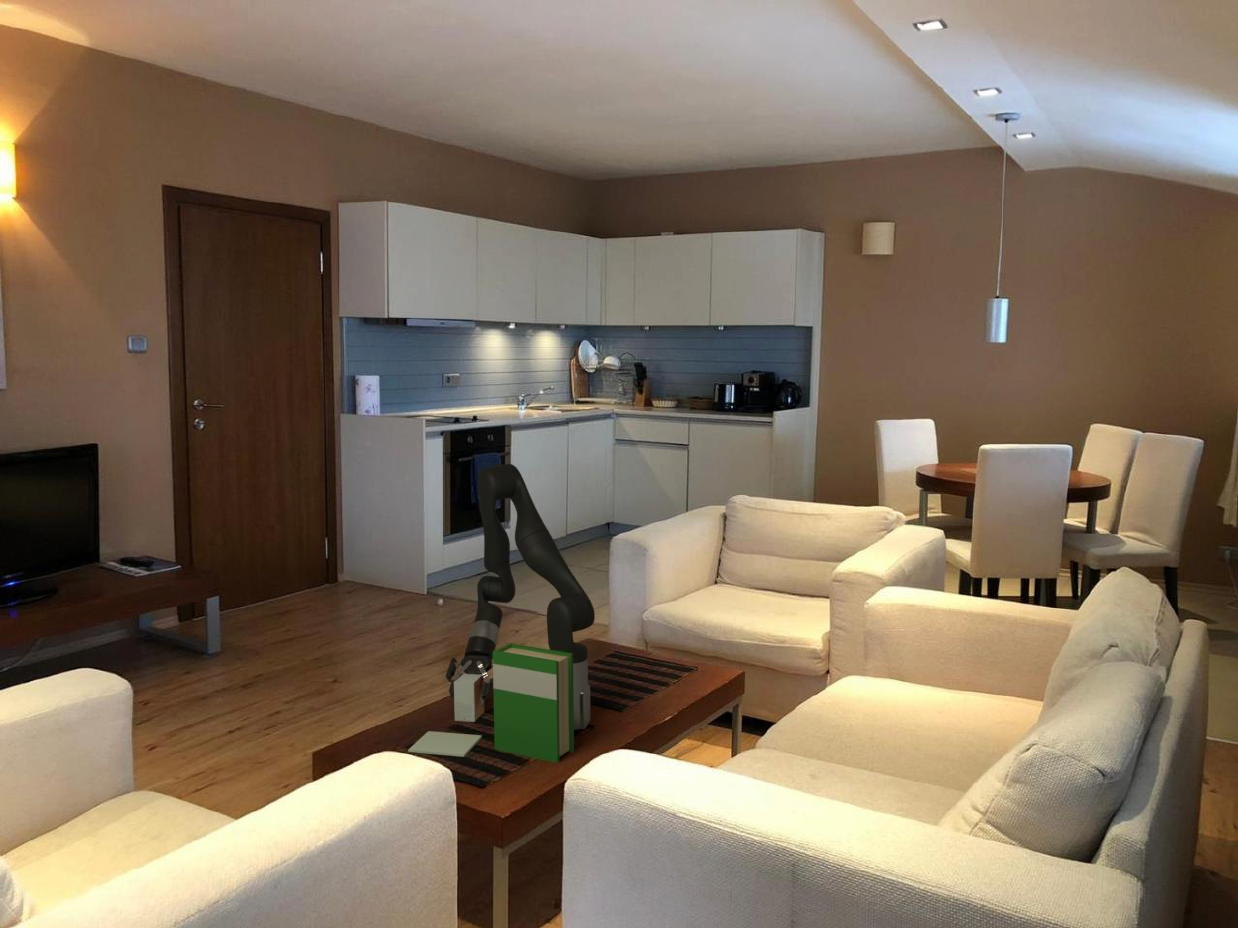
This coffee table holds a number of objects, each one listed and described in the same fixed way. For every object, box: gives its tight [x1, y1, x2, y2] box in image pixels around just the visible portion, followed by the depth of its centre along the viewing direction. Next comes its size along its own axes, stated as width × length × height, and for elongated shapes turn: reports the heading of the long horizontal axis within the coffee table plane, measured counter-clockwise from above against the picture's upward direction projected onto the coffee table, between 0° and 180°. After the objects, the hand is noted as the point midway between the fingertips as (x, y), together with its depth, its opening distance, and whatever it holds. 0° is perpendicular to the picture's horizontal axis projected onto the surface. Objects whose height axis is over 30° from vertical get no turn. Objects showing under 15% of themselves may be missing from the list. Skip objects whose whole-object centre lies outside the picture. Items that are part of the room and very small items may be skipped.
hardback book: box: [492, 643, 575, 764], centre depth 238 cm, size 18×7×24 cm, turn 62°
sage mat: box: [407, 730, 483, 758], centre depth 243 cm, size 14×12×1 cm
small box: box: [453, 672, 485, 723], centre depth 261 cm, size 8×6×10 cm
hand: (467, 697), depth 260 cm, fingers open, 8 cm apart
